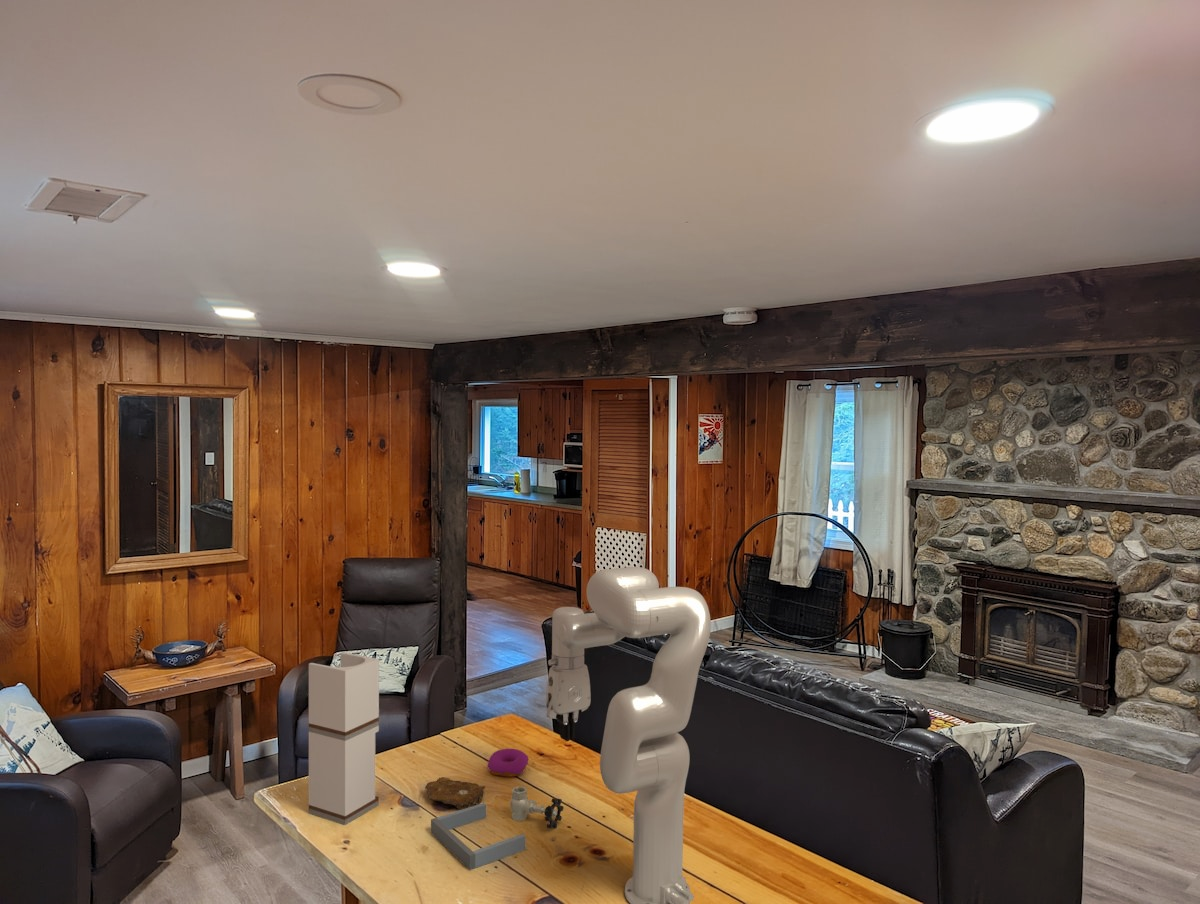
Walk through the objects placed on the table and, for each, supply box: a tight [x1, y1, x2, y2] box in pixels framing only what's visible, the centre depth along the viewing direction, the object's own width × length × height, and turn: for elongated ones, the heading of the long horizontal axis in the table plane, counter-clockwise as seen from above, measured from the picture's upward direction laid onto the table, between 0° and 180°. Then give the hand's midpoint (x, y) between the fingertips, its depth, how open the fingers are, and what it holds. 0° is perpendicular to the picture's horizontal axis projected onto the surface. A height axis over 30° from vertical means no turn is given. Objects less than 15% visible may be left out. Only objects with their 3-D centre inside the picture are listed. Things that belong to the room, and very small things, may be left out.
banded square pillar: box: [308, 652, 380, 826], centre depth 184 cm, size 11×11×35 cm
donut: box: [487, 748, 530, 778], centre depth 206 cm, size 10×10×5 cm
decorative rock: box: [425, 776, 486, 811], centre depth 190 cm, size 11×4×15 cm
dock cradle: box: [430, 802, 527, 871], centre depth 171 cm, size 18×13×3 cm
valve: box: [510, 785, 564, 830], centre depth 180 cm, size 7×7×12 cm
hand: (567, 738), depth 185 cm, fingers closed
